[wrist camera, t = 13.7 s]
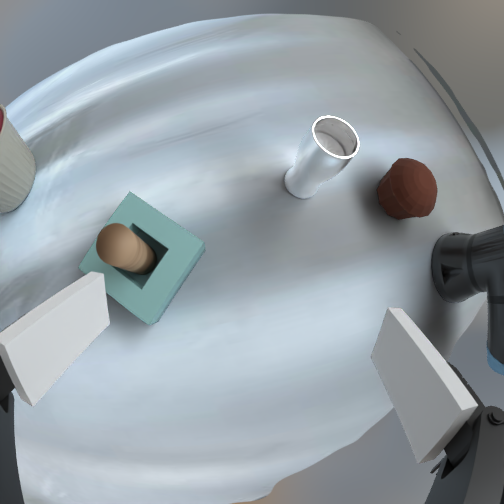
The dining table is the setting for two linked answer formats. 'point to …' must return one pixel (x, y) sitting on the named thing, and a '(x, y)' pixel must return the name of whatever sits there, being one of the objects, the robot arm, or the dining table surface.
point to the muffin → (408, 190)
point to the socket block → (167, 267)
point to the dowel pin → (125, 249)
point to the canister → (14, 166)
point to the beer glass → (321, 155)
